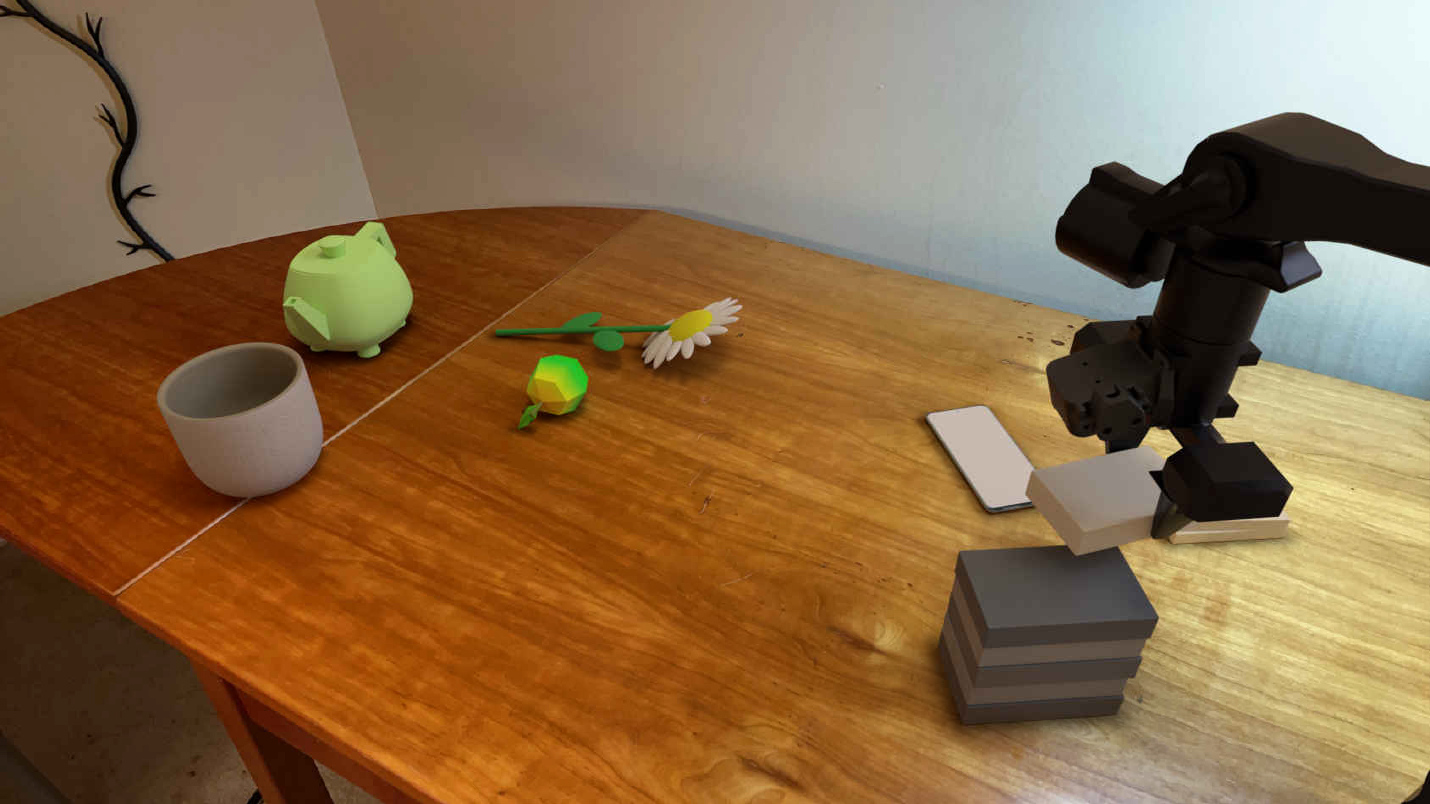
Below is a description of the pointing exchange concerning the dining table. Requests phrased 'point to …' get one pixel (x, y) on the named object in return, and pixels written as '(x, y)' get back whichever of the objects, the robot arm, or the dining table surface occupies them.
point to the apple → (555, 387)
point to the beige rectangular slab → (1234, 530)
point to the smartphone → (985, 456)
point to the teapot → (347, 292)
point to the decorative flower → (663, 339)
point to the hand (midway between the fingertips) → (1134, 501)
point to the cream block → (1099, 499)
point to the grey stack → (1043, 633)
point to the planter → (244, 418)
